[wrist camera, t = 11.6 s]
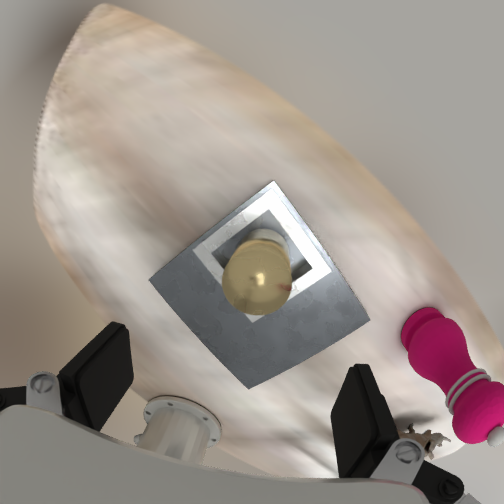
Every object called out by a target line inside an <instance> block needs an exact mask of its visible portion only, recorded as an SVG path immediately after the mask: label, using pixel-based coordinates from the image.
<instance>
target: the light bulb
mask: <svg viewBox="0 0 504 504" xmlns="http://www.w3.org/2000/svg"><path fill="white" fill-rule="evenodd" d="M222 288H223V292H224V294H225V296H226V298H227V300H228V301H229V302H230V304H231V305H232V306H234V307H235V308H236V309H238V310H239V311H241V312H243V313H246V314H249V315H266V314H270V313H273V312H275V311H276V310H278V309H279V308H281V307H282V306H283V305H284V304H285V303H286V301H287V300H288V298H289V296H290V293H291V290H292V276H291V266H290V256H289V249H288V245H287V243H286V241H285V240H284V238H283V237H282V236H281V235H280V234H278V233H277V232H275V231H273V230H270V229H256V230H253V231H251V232H249V233H248V234H247V235H245V236H244V238H243V239H242V240H241V242H240V244H239V245H238V247H237V249H236V250H235V252H234V254H233V255H232V257H231V259H230V260H229V262H228V264H227V265H226V267H225V269H224V272H223V275H222Z"/></svg>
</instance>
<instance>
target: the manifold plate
mask: <svg viewBox="0 0 504 504" xmlns="http://www.w3.org/2000/svg"><path fill="white" fill-rule="evenodd" d="M256 229H270V230H273V231H275V232H277V233H278V234H280V235H281V236H282V237H283V238H284V240H285V241H286V243H287V245H288V249H289V256H290V266H291V276H292V290H291V293H290V296H289V298H288V300H287V301H286V303H285V304H284V305H283V306H282V307H281V308H279V309H278V310H276V311H275V312H273V313H270V314H266V315H249V314H246V313H243V312H241V311H239V310H238V309H236V308H235V307H234V306H232V305H231V304H230V302H229V301H228V300H227V298H226V296H225V294H224V292H223V288H222V275H223V272H224V269H225V267H226V265H227V264H228V262H229V260H230V259H231V257H232V255H233V254H234V252H235V250H236V249H237V247H238V245H239V244H240V242H241V240H242V239H243V238H244V236H245V235H247V234H248V233H249V232H251V231H253V230H256ZM149 281H150V282H151V284H152V285H153V286H154V287H155V289H156V290H157V291H158V292H159V293H160V295H161V296H162V297H163V298H164V299H165V301H166V302H167V303H168V304H169V305H170V307H171V308H172V309H173V310H174V311H175V312H176V314H177V315H178V316H179V317H180V318H181V319H182V320H183V322H184V323H185V324H186V325H187V326H188V327H189V328H190V329H191V331H192V332H193V333H194V334H195V335H196V336H197V337H198V338H199V339H200V340H201V342H202V343H203V344H204V345H205V346H206V347H207V348H208V349H209V350H210V351H211V352H212V353H213V354H214V355H215V356H216V357H217V358H218V360H219V361H220V362H221V363H222V364H223V365H224V366H225V367H226V368H227V369H228V370H229V371H230V372H231V373H232V374H233V375H234V376H235V377H236V378H237V379H238V380H239V381H240V382H241V383H242V384H243V385H244V386H245V387H247V388H248V389H250V388H252V387H254V386H256V385H258V384H260V383H263V382H265V381H267V380H269V379H271V378H273V377H275V376H276V375H278V374H280V373H282V372H284V371H286V370H288V369H290V368H292V367H294V366H295V365H297V364H299V363H301V362H303V361H305V360H306V359H308V358H310V357H312V356H313V355H315V354H317V353H319V352H320V351H322V350H324V349H325V348H327V347H329V346H331V345H332V344H334V343H335V342H337V341H339V340H340V339H342V338H344V337H345V336H347V335H348V334H350V333H352V332H353V331H355V330H356V329H358V328H359V327H361V326H362V325H364V324H365V323H367V322H368V321H370V318H369V316H368V315H367V313H366V311H365V310H364V308H363V307H362V305H361V304H360V302H359V300H358V299H357V297H356V296H355V294H354V293H353V291H352V290H351V288H350V287H349V285H348V284H347V282H346V281H345V279H344V278H343V276H342V275H341V273H340V272H339V270H338V269H337V267H336V266H335V264H334V263H333V261H332V260H331V258H330V257H329V255H328V254H327V253H326V251H325V250H324V248H323V247H322V245H321V244H320V242H319V241H318V240H317V238H316V237H315V235H314V234H313V233H312V231H311V230H310V228H309V227H308V226H307V224H306V223H305V221H304V220H303V219H302V217H301V216H300V215H299V213H298V212H297V210H296V209H295V208H294V206H293V205H292V204H291V202H290V201H289V200H288V198H287V197H286V196H285V194H284V193H283V192H282V190H281V189H280V188H279V186H278V185H277V184H276V182H275V181H273V182H271V183H270V184H269V185H267V186H266V187H265V188H263V189H262V190H261V191H259V192H258V193H257V194H255V195H254V196H253V197H251V198H250V199H249V200H247V201H246V202H245V203H243V204H242V205H241V206H239V207H238V208H237V209H236V210H234V211H233V212H232V213H230V214H229V215H228V216H227V217H225V218H224V219H223V220H221V221H220V222H219V223H218V224H216V225H215V226H214V227H213V228H211V229H210V230H209V231H207V232H206V233H205V234H204V235H202V236H201V237H200V238H199V239H197V240H196V241H195V242H194V243H193V244H191V245H190V246H189V247H188V248H186V249H185V250H184V251H183V252H181V253H180V254H179V255H178V256H177V257H175V258H174V259H173V260H172V261H170V262H169V263H168V264H167V265H166V266H164V267H163V268H162V269H161V270H160V271H158V272H157V273H156V274H155V275H154V276H153V277H151V278H150V279H149Z"/></svg>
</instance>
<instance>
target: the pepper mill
mask: <svg viewBox="0 0 504 504" xmlns="http://www.w3.org/2000/svg"><path fill="white" fill-rule="evenodd" d="M401 341H402V343H403V345H404V347H405V348H406V350H407V351H408V359H409V362H410V365H411V366H412V368H413V369H414V370H415V372H417V373H418V374H419V375H420V376H422V377H423V378H425V379H428V380H430V381H432V382H434V383H436V384H437V385H438V386H439V387H440V388H441V389H442V391H443V392H444V393H445V395H446V401H445V403H446V406H447V408H449V412H450V413H451V414H452V415H454V416H453V420H452V427H453V430H454V433H455V434H456V436H457V437H458V438H459V439H460V440H461V441H463V442H464V443H469V444H476V443H480V442H483V441H485V440H487V441H488V444H489V445H490V446H493V447H495V446H498V445H500V444H501V443H502V442H503V440H504V428H503V427H502V425H503V424H504V385H503V384H502V383H500V382H495V381H493V382H491V377H490V376H489V375H487V373H486V371H485V370H484V369H477V368H476V367H475V366H474V364H473V362H472V361H471V359H470V356H469V354H468V349H467V344H466V339H465V336H464V334H463V332H462V330H461V328H460V327H459V326H458V324H457V323H456V322H455V321H453V320H452V319H449V318H445V317H444V316H443V315H442V314H441V313H440V312H439V311H438V310H437V309H435V308H423V309H420V310H418V311H417V312H415V313H414V314H413V315H412V316H411V317H410V318H409V319H408V320H407V321H406V323H405V325H404V327H403V329H402V333H401Z"/></svg>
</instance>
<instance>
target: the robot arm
mask: <svg viewBox="0 0 504 504" xmlns="http://www.w3.org/2000/svg"><path fill="white" fill-rule="evenodd" d="M133 379H134V373H133V366H132V358H131V349H130V339H129V331H128V329H126V327H125V325H124V324H120V323H117V322H111V323H110V324H109V325H107V326H106V327H105V328H104V329H103V330H102V331H101V332H100V333H99V334H98V335H97V336H96V337H95V338H94V339H93V340H91V341H90V342H89V343H88V344H87V345H86V346H85V347H84V348H83V349H82V350H81V351H80V352H79V353H78V354H77V355H76V356H75V357H74V358H73V359H72V360H71V361H70V362H69V363H68V364H67V365H66V366H65V367H64V368H62V370H60V371H59V374H58V375H57V376H55V375H54V374H52V373H50V372H43V371H42V372H37V373H35V374H33V375H32V376H30V377H29V379H28V381H27V386H22V387H12V388H1V389H0V504H481V503H480V502H478V501H477V500H476V499H475V498H474V497H473V496H471V495H470V494H469V493H468V494H467V495H465V494H464V485H463V482H462V481H461V479H460V478H458V477H457V476H455V475H453V474H451V473H449V472H447V471H445V470H443V469H441V468H439V467H437V466H435V465H433V464H431V463H429V462H427V461H425V460H424V457H425V451H424V449H423V447H422V446H421V445H420V443H418V442H417V441H415V440H412V439H409V438H403V439H400V437H399V434H398V431H397V429H396V426H395V423H394V421H393V418H392V415H391V413H390V410H389V408H388V405H387V402H386V400H385V397H384V396H383V395H382V394H381V393H380V391H379V388H378V386H377V383H376V380H375V378H374V376H373V373H372V371H371V368H370V366H369V365H368V364H355V365H354V366H353V367H350V368H349V370H348V373H347V375H346V378H345V380H344V383H343V385H342V388H341V390H340V392H339V395H338V397H337V399H336V402H335V404H334V406H333V409H332V411H331V423H332V430H333V436H334V443H335V450H336V457H337V465H338V473H339V478H295V477H279V476H268V475H258V474H251V473H243V472H237V471H231V470H225V469H219V468H214V467H209V466H204V465H202V463H203V460H204V456H205V453H206V449H207V448H209V447H211V446H214V445H215V444H217V442H218V441H219V439H220V436H221V426H220V424H219V422H218V420H217V419H216V418H215V417H214V416H213V415H212V414H211V413H210V412H209V411H207V410H206V409H205V408H203V407H201V406H200V405H198V404H196V403H194V402H191V401H189V400H186V399H182V398H178V397H171V396H163V397H157V398H154V399H152V400H150V401H149V402H148V404H147V405H146V407H145V409H144V419H145V421H146V423H147V427H146V429H145V431H144V433H143V434H139V435H136V436H135V437H134V442H135V443H136V444H137V446H133V445H131V444H128V443H126V442H123V441H120V440H118V439H115V438H113V437H110V436H108V435H105V434H103V433H100V432H99V431H100V430H101V429H102V427H103V426H104V424H105V423H106V421H107V419H108V418H109V417H110V415H111V413H112V412H113V411H114V409H115V407H116V406H117V404H118V403H119V402H120V400H121V399H122V397H123V396H124V394H125V393H126V391H127V390H128V388H129V387H130V385H131V384H132V382H133Z"/></svg>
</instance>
